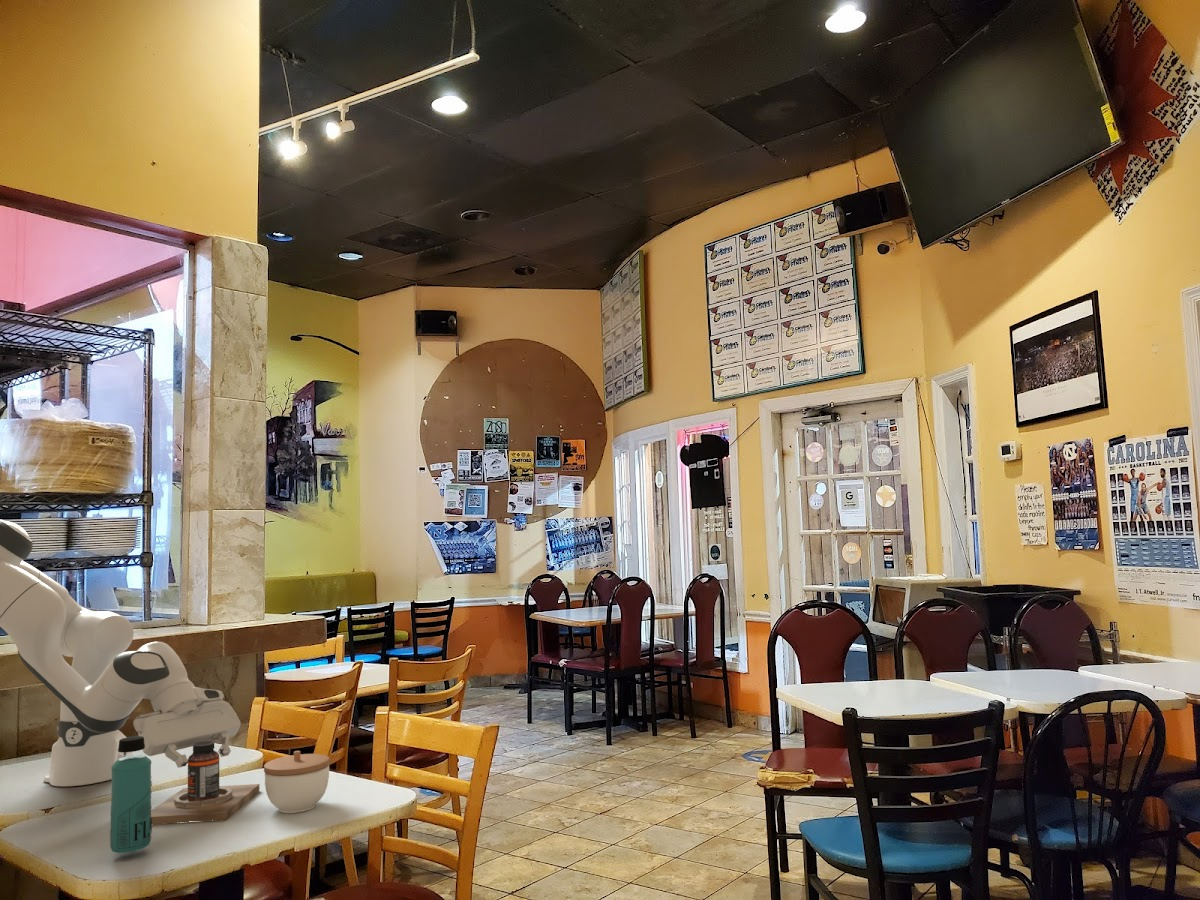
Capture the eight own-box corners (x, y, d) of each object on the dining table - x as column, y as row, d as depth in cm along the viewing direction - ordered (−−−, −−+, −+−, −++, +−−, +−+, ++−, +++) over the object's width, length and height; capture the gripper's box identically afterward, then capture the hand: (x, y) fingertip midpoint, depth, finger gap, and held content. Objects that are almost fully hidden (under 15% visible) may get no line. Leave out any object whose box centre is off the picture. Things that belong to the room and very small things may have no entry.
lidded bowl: (266, 821, 168) (266, 762, 169) (261, 805, 179) (261, 749, 180) (334, 810, 173) (334, 753, 174) (325, 795, 184) (324, 741, 185)
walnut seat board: (183, 795, 188) (183, 783, 188) (259, 791, 189) (259, 779, 189) (140, 825, 168) (140, 812, 168) (225, 820, 169) (225, 807, 169)
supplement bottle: (182, 800, 179) (182, 744, 180) (211, 793, 183) (211, 738, 184) (195, 805, 175) (195, 747, 176) (224, 798, 179) (224, 741, 180)
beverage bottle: (133, 863, 148) (135, 741, 150) (99, 861, 149) (101, 741, 151) (160, 849, 154) (161, 733, 156) (127, 848, 156) (129, 733, 158)
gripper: (136, 706, 176) (162, 761, 170) (228, 689, 193) (255, 739, 187) (124, 726, 178) (149, 782, 172) (216, 708, 195) (242, 758, 189)
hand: (205, 759), depth 179 cm, fingers open, 8 cm apart
